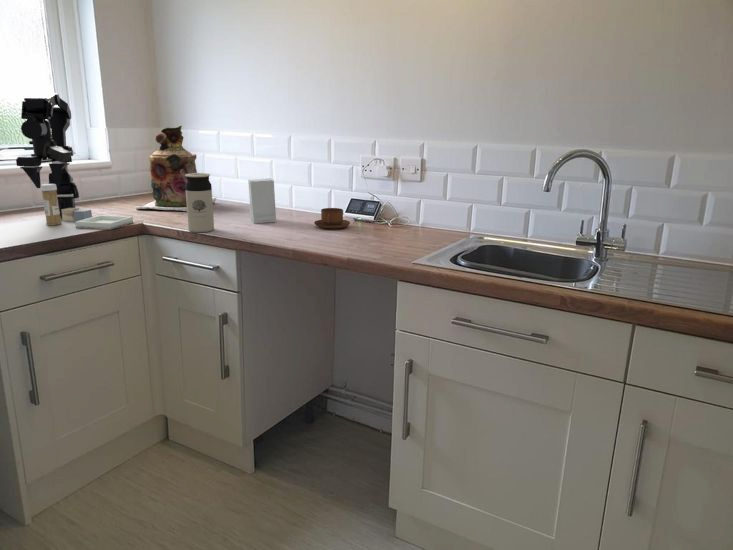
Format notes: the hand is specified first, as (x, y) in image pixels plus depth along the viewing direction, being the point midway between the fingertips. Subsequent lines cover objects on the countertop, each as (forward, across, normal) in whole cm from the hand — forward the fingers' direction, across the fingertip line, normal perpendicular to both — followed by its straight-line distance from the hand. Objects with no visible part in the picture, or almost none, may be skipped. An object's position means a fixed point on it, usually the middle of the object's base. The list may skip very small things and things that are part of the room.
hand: (48, 186), depth 186 cm
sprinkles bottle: (+13, 0, 0) cm, 13 cm away
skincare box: (+13, +21, -66) cm, 70 cm away
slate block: (+13, +7, -6) cm, 16 cm away
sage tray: (+13, +3, -17) cm, 21 cm away
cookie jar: (+13, +45, -21) cm, 51 cm away
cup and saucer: (+13, +17, -92) cm, 94 cm away
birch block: (+13, +9, 0) cm, 16 cm away
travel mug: (+13, +2, -52) cm, 54 cm away
